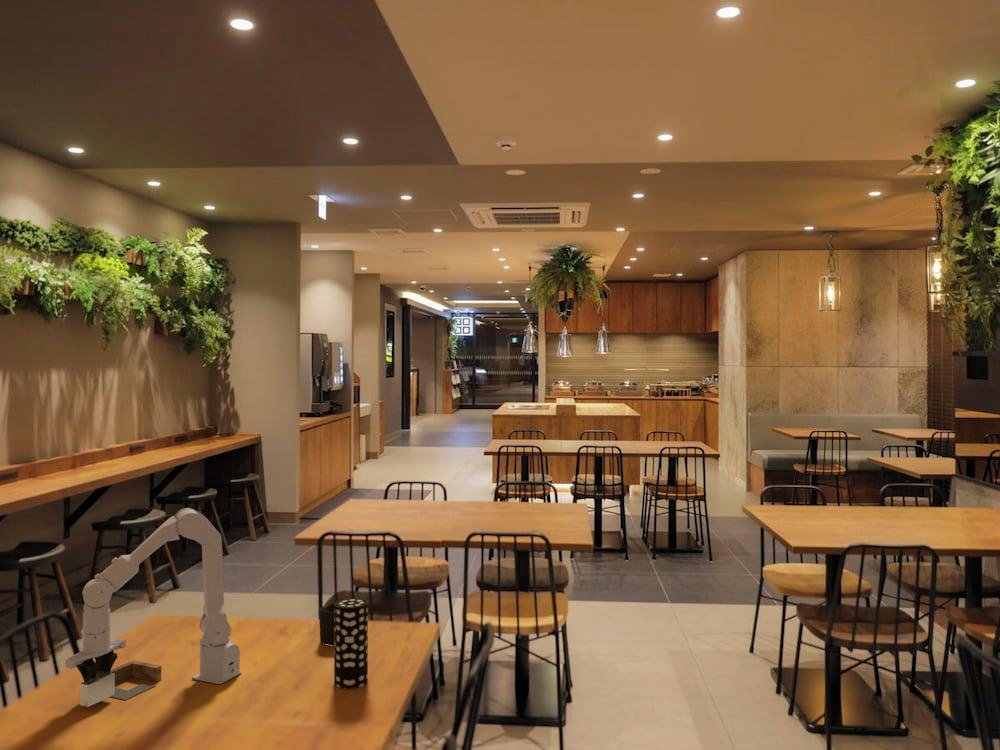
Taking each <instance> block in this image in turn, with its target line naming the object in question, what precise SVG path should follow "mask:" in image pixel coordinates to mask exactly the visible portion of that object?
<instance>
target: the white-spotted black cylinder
mask: <svg viewBox="0 0 1000 750" xmlns="http://www.w3.org/2000/svg"><path fill="white" fill-rule="evenodd" d="M334 603H335V607H334V646H333V647H334V649H333V650H334V653H333V655H334V656H333V659H334V662H333V663H334V664H333V665H334V667H333V668H334V669H333V672H334V673H333V675H334V678H333V681H334V683H333V684H335V685H334V687H336V686H337V688H338V687H339V688H338V689H342V688H344V689H343V690H351V689H353V688H354V689H358V688H361V687H363V686H365V685H366V684H367V683H368V679H369V678H368V676H369V675H368V673H369V671H368V670H369V669H368V667H369V666H368V664H369V663H368V661H369V660H368V659H369V658H368V657H369V653H368V651H369V647H368V646H369V645H368V644H369V641H368V640H369V639H368V638H369V636H368V634H369V632H368V631H369V630H368V628H369V626H368V625H369V623H368V622H369V615H368V614H369V602H368V600H367V599H365V598H357V597H351V598H344V599H339V600H337V601H335V602H334Z"/></svg>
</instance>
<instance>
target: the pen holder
mask: <svg viewBox="0 0 1000 750" xmlns="http://www.w3.org/2000/svg"><path fill="white" fill-rule="evenodd" d="M334 607H335V602H332V603H331V604H328V605H326V606H325V607H321V606H320V607H318V613H319V614H318V615H319V616H318V617H319V620H318V621H319V641H320V643H321V642H322V643H324V644H329V645H334ZM322 643H321V644H322Z"/></svg>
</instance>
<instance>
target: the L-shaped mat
mask: <svg viewBox="0 0 1000 750" xmlns="http://www.w3.org/2000/svg"><path fill="white" fill-rule="evenodd" d="M155 686H156V685H153V684H149V683H144V682H143V683H140V684H139V685H137V686H135V687H132V688H130V689H123V688H119V687H115V695H113V696H111V697H110V698H111V699H112V698H113V699H118V700H122V701H127V700H130V699H132V698H133V697H136V696H138V695H140V694H143V693H144V692H147V691H149V690H151V689H153V688H155Z"/></svg>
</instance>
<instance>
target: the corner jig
mask: <svg viewBox="0 0 1000 750" xmlns="http://www.w3.org/2000/svg"><path fill="white" fill-rule="evenodd" d="M110 673H114V674H115V686H116V685H117V684H119V683H122V682H124V681H127V680H129V679H131V678H136V679H140V680H146V681H151V682H154V683H157V682H159V681H162V665H158V664H155V663H154V664H153V663H148V662H142V661H139V660H138V661H137V660H130V661H129V662H127V663H124V664H122V665H120V666H117V667H114V668H111V671H110Z"/></svg>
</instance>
